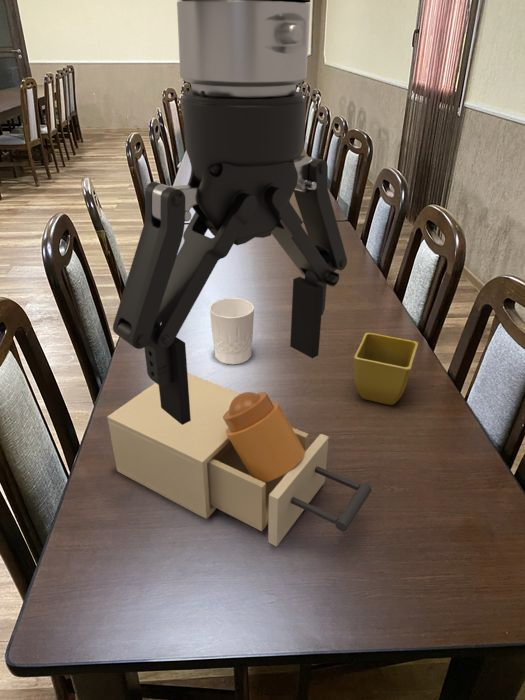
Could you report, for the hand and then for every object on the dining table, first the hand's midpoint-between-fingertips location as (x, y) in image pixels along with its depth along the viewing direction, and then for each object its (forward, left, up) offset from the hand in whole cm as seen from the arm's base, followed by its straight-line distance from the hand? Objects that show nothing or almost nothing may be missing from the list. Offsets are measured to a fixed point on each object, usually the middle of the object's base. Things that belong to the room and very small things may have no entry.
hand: (245, 380), depth 43 cm
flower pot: (+43, +2, -29) cm, 51 cm away
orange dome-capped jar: (+13, +4, -21) cm, 25 cm away
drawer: (+13, +4, -27) cm, 31 cm away
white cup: (+40, +30, -29) cm, 58 cm away
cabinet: (+13, +18, -28) cm, 36 cm away
